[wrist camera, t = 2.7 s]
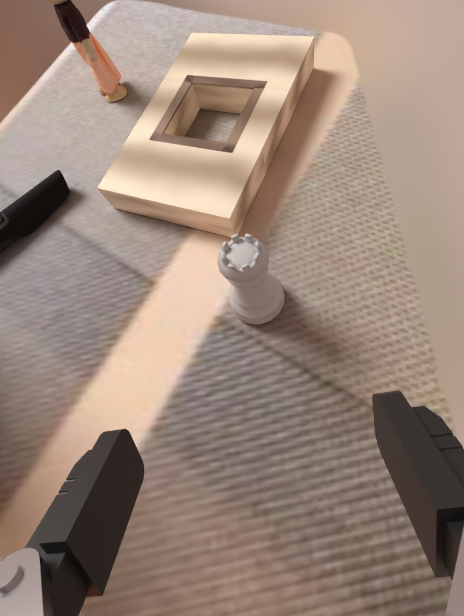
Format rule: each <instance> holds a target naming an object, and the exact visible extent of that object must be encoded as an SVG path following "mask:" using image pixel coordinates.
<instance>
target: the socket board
mask: <svg viewBox="0 0 464 616" xmlns="http://www.w3.org/2000/svg"><path fill="white" fill-rule="evenodd" d="M313 68H314V37H310V36H277V35H245V34H212V33H192V34H191V36H190V37H189V39H188V40H187V42H186V44H185V45H184V47H183V49H182V50H181V52H180V54H179V55H178V57H177V58H176V60H175V62H174V63H173V65H172V67H171V68H170V70H169V72H168V73H167V75H166V76H165V78H164V80H163V81H162V83H161V85H160V86H159V88H158V90H157V91H156V93H155V94H154V96H153V98H152V99H151V101H150V103H149V104H148V106H147V108H146V109H145V111H144V112H143V114H142V116H141V117H140V119H139V121H138V122H137V124H136V126H135V127H134V129H133V130H132V132H131V134H130V135H129V137H128V139H127V140H126V142H125V144H124V145H123V147H122V148H121V150H120V152H119V153H118V155H117V157H116V158H115V160H114V162H113V163H112V165H111V166H110V168H109V170H108V171H107V173H106V175H105V176H104V178H103V180H102V181H101V183H100V184H99V186H98V188H97V189H98V190H99V191H100V192H101V193H102V194H103V196H104V197H105V198H106V199H107V200H108V201H109V203H110V204H111V205H112V206H113V207H114V208H116V209H120V210H124V211H128V212H132V213H136V214H140V215H144V216H148V217H152V218H156V219H160V220H164V221H168V222H172V223H176V224H180V225H184V226H188V227H192V228H196V229H200V230H204V231H208V232H212V233H216V234H220V235H224V236H228V237H231V236H232V235H235V234H237V233H238V234H239V232H240V230H241V228H242V225H243V223H244V221H245V219H246V217H247V214H248V212H249V210H250V208H251V205H252V203H253V201H254V199H255V197H256V194H257V192H258V190H259V188H260V185H261V183H262V181H263V179H264V177H265V174H266V172H267V170H268V168H269V165H270V163H271V161H272V159H273V157H274V154H275V152H276V150H277V148H278V146H279V143H280V141H281V139H282V137H283V134H284V132H285V130H286V128H287V126H288V123H289V121H290V119H291V117H292V114H293V112H294V110H295V108H296V106H297V103H298V101H299V99H300V97H301V94H302V92H303V90H304V88H305V86H306V83H307V81H308V79H309V77H310V74H311V72H312V70H313ZM200 109H204V110H212V111H221V112H230V113H238V114H241V115H240V117H239V119H238V121H237V123H236V125H235V127H234V129H233V131H232V133H231V135H230V136H229V138H228V140H227V142H226V143H223V142H216V141H210V140H203V139H196V138H190V137H185V136H186V134H187V132H188V130H189V128H190V126H191V125H192V123H193V121H194V119H195V117H196V116H197V114H198V112H199V110H200Z"/></svg>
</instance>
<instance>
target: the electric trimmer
mask: <svg viewBox="0 0 464 616" xmlns="http://www.w3.org/2000/svg"><path fill="white" fill-rule="evenodd" d="M69 192H70V191H69V188H68V185H67V183H66V181H65V179H64V177H63V175H62V173H61V171H60V170H57V171H55V172H54V173H53V174H51V175H50V176H49V177H47V178H46V179H45V180H43V181H42V182H41V183H39V184H38V185H37V186H35V187H34V188H33V189H31V190H30V191H29V192H27V193H26V194H25V195H23V196H22V197H20V198H19V199H18V200H16V201H15V202H14V203H12V204H11V205H9V206H8V207H7V208H5V209H4V210H3V211H1V212H0V251H1V250H3V249H4V248H5V247H6V246H7V245H9V244H10V243H11V242H12V241H14V240H15V239H16V238H17V237H18V236H20V235H23V234H29V233H31V232H32V231H33V230H34V229H35V228H36V227H37V226H38V225H39V224H40V223H41V222H42V221H43V220H44V219H45V218H46V217H47V216H48V215H49V214H50V213H51V212H52V211H53V210H54V209H55V208H56V207H57V206H58V205H59V204H60V203H61V202H62V201H63V200H64V199H65V198H66V197H67V196H68V194H69Z"/></svg>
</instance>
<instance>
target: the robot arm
mask: <svg viewBox="0 0 464 616" xmlns="http://www.w3.org/2000/svg"><path fill="white" fill-rule="evenodd" d="M372 399H373V412H374V424H375V434H376V439H377V443H378V447H379V450H380V452H381V455H382V457H383V459H384V462H385V464H386V466H387V468H388V471H389V473H390V475H391V478H392V480H393V482H394V484H395V487H396V489H397V491H398V493H399V496H400V498H401V500H402V502H403V505H404V507H405V509H406V511H407V514H408V516H409V518H410V520H411V523H412V525H413V527H414V530H415V532H416V534H417V536H418V539H419V541H420V543H421V545H422V548H423V550H424V552H425V554H426V557H427V559H428V561H429V563H430V566H431V568H432V570H433V572H434V575H435V577H445V576H450V577H451V579H452V586H451V591H450V595H449V600H448V605H447V610H446V614H445V616H464V449H463V447H462V445H461V444H460V442H459V441H458V440H457V438H456V437H455V436H453V433H452V432H451V430H450V429H449V427H448V426H447V425H446V423H445V422H444V421H443V419H442V418H441V417H439V416H438V415H437V414H435V413H434V412H432V411H431V410H429V409H428V408H426V407H425V406H419V407H412V408H411V406H410V405H409V403H408V402H407V400H406V399H405V397H404V395H403V394H402V393H401V392H400V391H392V392H385V393H378V394H373V397H372ZM143 478H144V464H143V461H142V458H141V456H140V454H139V452H138V450H137V447H136V445H135V443H134V441H133V439H132V437H131V435H130V433H129V431H128V430H127V429H121V430H114V431H107V432H103V433H102V434H101V435H100V436H99V438H98V440H97V442H96V443H95V445H94V447H93V449H92V450H88V451H87V452H86V453H85V454H84V456H83V457H82V458H81V459H80V460H79V461H78V462H77V463H76V464H75V465H74V467H73V469H72V470H71V472H70V474H69V475H68V477H67V479H66V480H67V481H66V482H64V484H63V485H62V487H61V489H60V490H59V495H57V496H56V497H55V499H54V501H53V502H52V504H51V506H50V507H49V509H48V511H47V512H46V514H45V516H44V517H43V519H42V521H41V522H40V524H39V526H38V527H37V529H36V531H35V532H34V534H33V536H32V537H31V539H30V541H29V542H28V544H27V546H26V547H25V548H23V549H20V550H18V551H15V552H13V553H12V554H10V555H9V556H7V557H6V558H4V559H3V560H2V561H1V562H0V616H84V614H83V612H82V610H81V608H82V606H83V603H84V600H85V598H86V597H91V596H103V593H104V590H105V587H106V584H107V581H108V579H109V576H110V573H111V570H112V567H113V564H114V561H115V559H116V556H117V553H118V550H119V547H120V544H121V542H122V539H123V536H124V533H125V530H126V527H127V524H128V522H129V519H130V516H131V513H132V510H133V507H134V504H135V502H136V499H137V496H138V493H139V490H140V487H141V485H142V482H143Z"/></svg>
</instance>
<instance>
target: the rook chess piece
mask: <svg viewBox="0 0 464 616" xmlns="http://www.w3.org/2000/svg"><path fill="white" fill-rule="evenodd" d="M231 239H232V240H231V241H229V242H228V243H227V242H225V241H224V243H223V244H222V246H221V251H220V253H219V256H218V263H217V264H218V267H219V270H220V272H221V273H222V274H223V276H224V277H225V278H226V279H228V281H229V282H230V283H231V284H232V285H231V286H230V291H229V301H230V304H231V308H232V310H233V313H234V314H235V315H236V316H237V317H238V318H239V319H240V320H242V321H244V322H246V323H248V324H263V323H266V322H269V321H271V320H272V319H273V318H275V317H276V316H277V315H278V314H279V313H280V311H281V309H282V307H283V305H284V296H285V293H284V291H283V288H282V286H281V283H280V281H279V279H277V278H276V277H275V276H274V275H273V274H272V273H271V272H269V271H268V261H269V253H268V250H267V248H266V245H264V244H263V243H262V242H261V241H260V240H259V239H256V238H254V237H253V235H250V234H247V233H246V234H245V237H239V235H238V233H237V234H235V235H232V236H231Z"/></svg>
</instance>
